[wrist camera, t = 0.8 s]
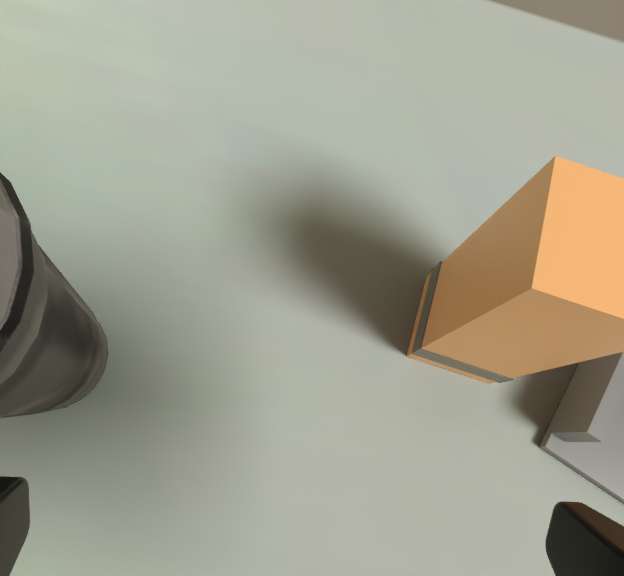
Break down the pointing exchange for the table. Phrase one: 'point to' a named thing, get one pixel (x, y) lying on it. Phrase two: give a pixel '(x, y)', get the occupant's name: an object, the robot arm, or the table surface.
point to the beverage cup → (41, 324)
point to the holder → (592, 424)
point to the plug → (531, 282)
